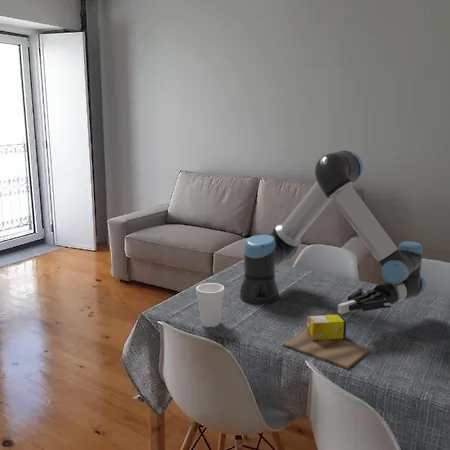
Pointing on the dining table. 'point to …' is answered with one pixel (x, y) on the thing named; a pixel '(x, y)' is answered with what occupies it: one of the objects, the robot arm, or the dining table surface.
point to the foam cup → (210, 303)
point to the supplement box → (326, 327)
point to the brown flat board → (328, 349)
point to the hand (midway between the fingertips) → (339, 309)
